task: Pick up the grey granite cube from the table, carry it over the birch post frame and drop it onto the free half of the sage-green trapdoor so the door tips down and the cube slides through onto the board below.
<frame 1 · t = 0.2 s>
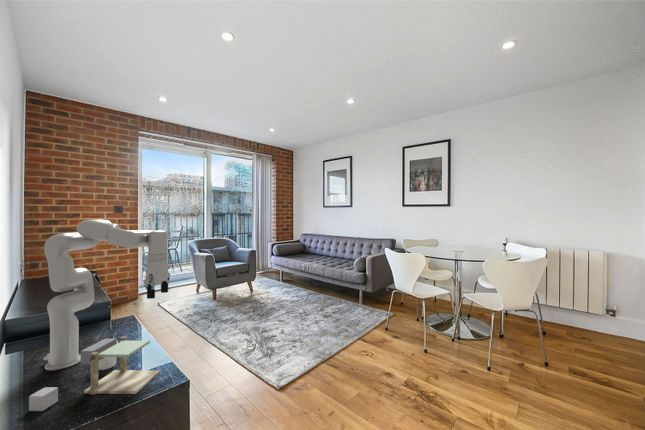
hand: (158, 295, 121), 31 cm above the table, fingers open, 9 cm apart
frame: (124, 382, 107), on the table
trapdoor: (116, 350, 108), point 13 cm above the table, hinge at 0.0°
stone: (43, 406, 94), on the table
white cup: (106, 366, 120), on the table
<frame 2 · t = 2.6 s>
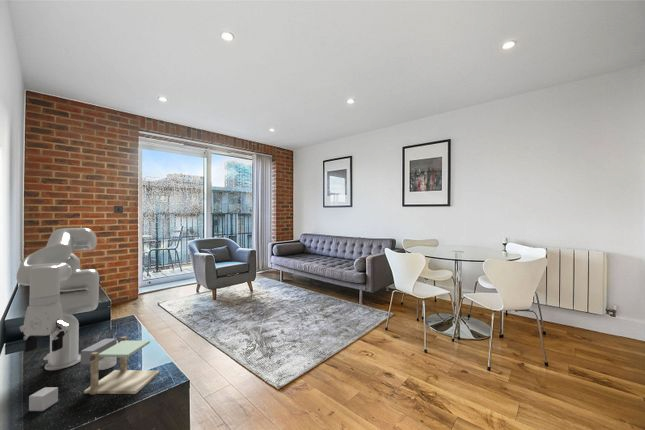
hand: (44, 349, 94), 20 cm above the table, fingers open, 9 cm apart
nothing on the table moved.
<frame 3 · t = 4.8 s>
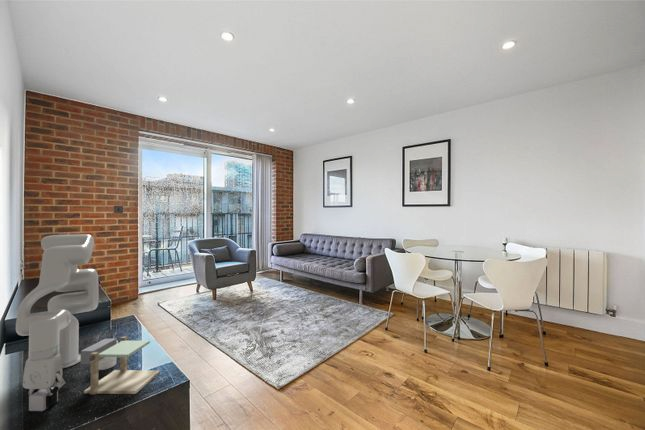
hand: (43, 404, 94), 1 cm above the table, fingers closed on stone, 5 cm apart
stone: (43, 405, 94), on the table, touching gripper
everything else where it was.
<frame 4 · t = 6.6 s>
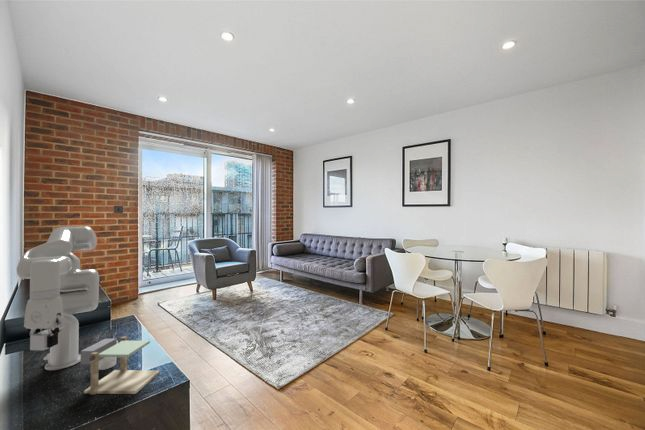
hand: (44, 345, 95), 21 cm above the table, fingers closed on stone, 5 cm apart
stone: (44, 346, 95), point 20 cm above the table, touching gripper
everything else where it was.
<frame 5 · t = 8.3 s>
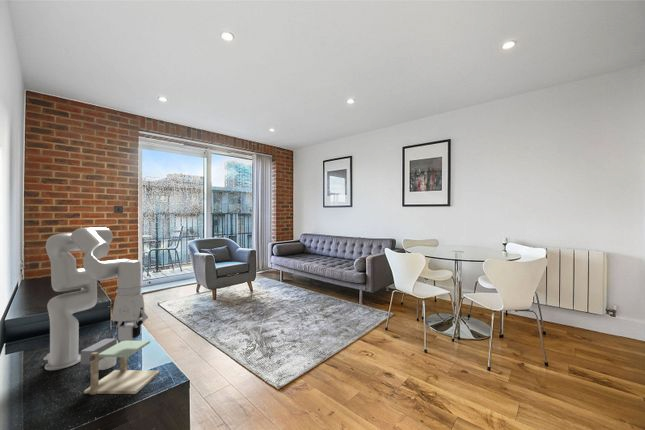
hand: (129, 336, 108), 18 cm above the table, fingers closed on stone, 5 cm apart
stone: (129, 337, 107), point 18 cm above the table, touching gripper
everything else where it was.
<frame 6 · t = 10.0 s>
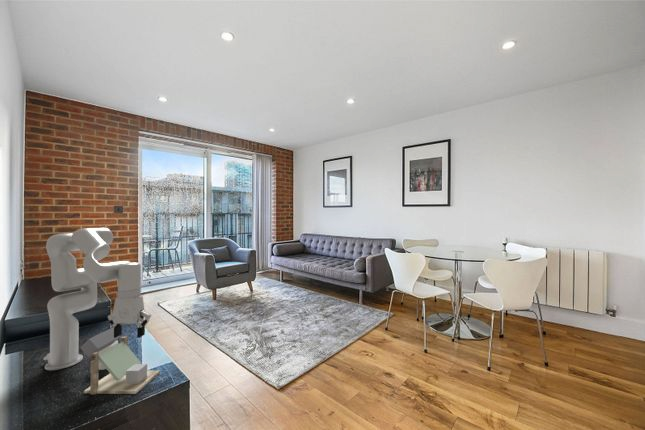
hand: (129, 336, 108), 18 cm above the table, fingers open, 9 cm apart
trapdoor: (112, 354, 108), point 11 cm above the table, hinge at -47.9°, touching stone
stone: (130, 373, 107), point 3 cm above the table, tilted 90°, touching frame, trapdoor
everything else where it was.
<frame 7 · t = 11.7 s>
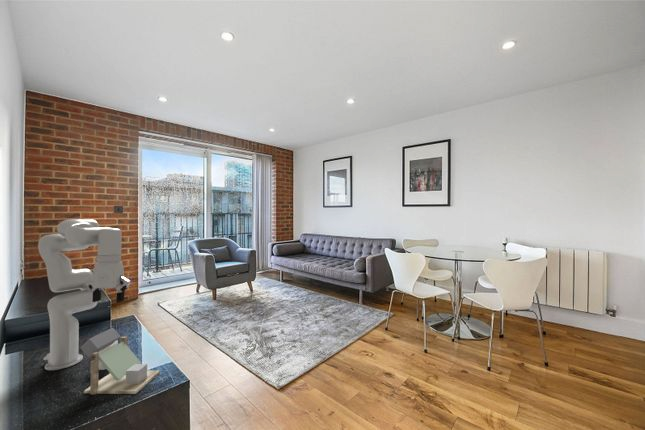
hand: (108, 301, 108), 33 cm above the table, fingers open, 9 cm apart
nothing on the table moved.
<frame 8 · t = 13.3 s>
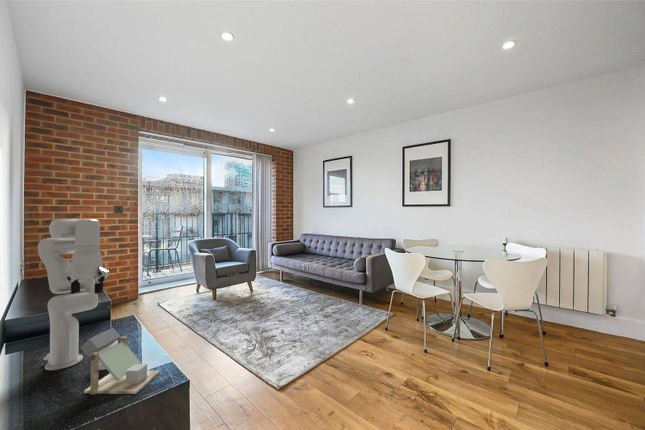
hand: (87, 292, 107), 36 cm above the table, fingers open, 9 cm apart
nothing on the table moved.
at the end: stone point 3.5 cm above the table; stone inside the target area (1.0 cm from its centre), point 3.5 cm above the table; the gripper is holding nothing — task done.
